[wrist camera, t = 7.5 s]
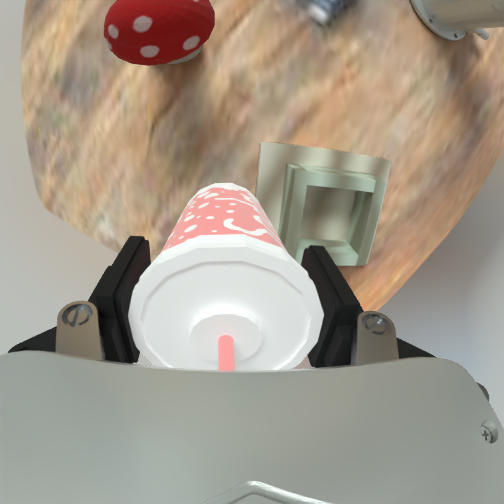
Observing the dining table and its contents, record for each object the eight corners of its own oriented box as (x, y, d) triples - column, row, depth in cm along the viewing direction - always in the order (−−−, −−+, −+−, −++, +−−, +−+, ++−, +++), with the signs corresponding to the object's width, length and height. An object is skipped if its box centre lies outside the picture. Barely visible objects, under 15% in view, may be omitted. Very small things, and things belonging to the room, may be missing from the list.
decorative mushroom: (130, 77, 27) (71, 61, 13) (142, 16, 23) (97, -30, 10) (210, 80, 28) (201, 57, 15) (222, 18, 24) (224, -38, 11)
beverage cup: (295, 233, 17) (402, 468, 5) (212, 282, 18) (213, 517, 6) (238, 147, 14) (325, 398, 2) (150, 210, 15) (34, 457, 3)
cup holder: (386, 159, 35) (409, 168, 30) (363, 259, 42) (380, 279, 37) (259, 141, 32) (267, 147, 27) (249, 257, 40) (254, 280, 35)
